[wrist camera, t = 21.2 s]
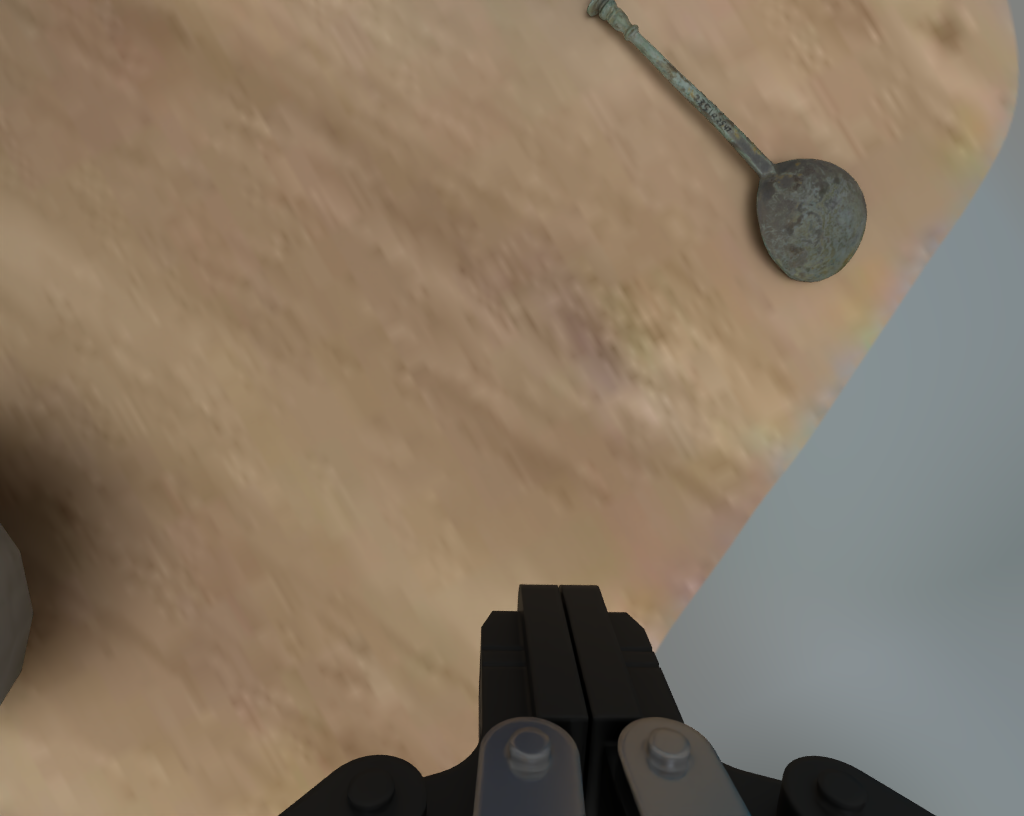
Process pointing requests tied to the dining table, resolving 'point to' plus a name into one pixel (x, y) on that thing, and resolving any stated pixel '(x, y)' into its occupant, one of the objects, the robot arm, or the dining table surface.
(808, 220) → the soupspoon
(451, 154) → the dining table surface
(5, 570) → the flower arrangement
